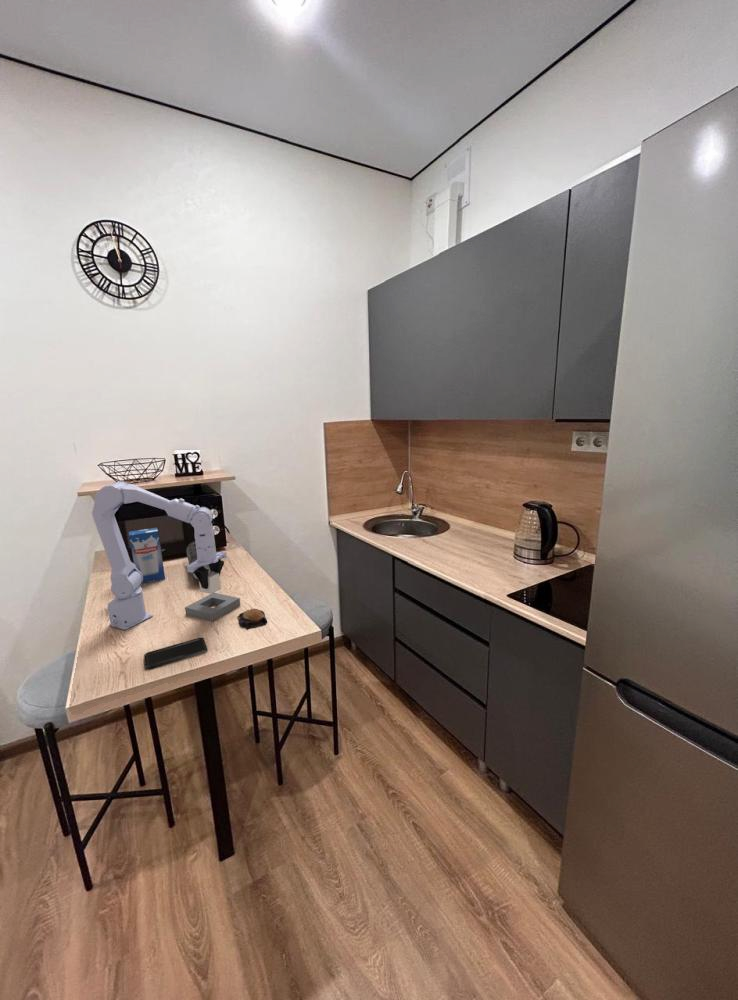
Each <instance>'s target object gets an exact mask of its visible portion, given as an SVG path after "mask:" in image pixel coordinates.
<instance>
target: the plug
mask: <svg viewBox="0 0 738 1000" xmlns="http://www.w3.org/2000/svg"><path fill="white" fill-rule="evenodd" d="M220 577H221V575H220V576H219V573H214V571H209V572H208V588H207V589H204V588H202V586H201V584H200V582H199V581H198V584H199V591H200V592H201V593H206V594H209V595H210V594H212V593H217V592H218V591H220V590H221V589H222V587H221V578H220Z"/></svg>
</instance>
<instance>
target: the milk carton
mask: <svg viewBox="0 0 738 1000" xmlns="http://www.w3.org/2000/svg"><path fill="white" fill-rule="evenodd" d="M128 538H129V543H130V548H131V553H132V561H133V563H134V564H135V565H136V568H137V569H138V570H139V571H140V572H141V573H142V575H143V581H142V583H141V584H140V585H143V584H148V583H151V582H157V581H162V580H165V579H166V574H165V569H164V561H163V556H162V549H161V543H160V540H161V539H160V535H159V530H158V527H152V528H144V529H139V530H132V531H128Z"/></svg>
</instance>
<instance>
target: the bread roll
mask: <svg viewBox="0 0 738 1000" xmlns="http://www.w3.org/2000/svg"><path fill="white" fill-rule="evenodd" d="M236 618H237V622H238V624H239V626H240V627H242V628H243V629H246V630H247V631H248V630H252V629H255V628H260V627H264V626H265V625H266V624H268V620H267V618H266V614H265V611H263V610H261V609H258V608H250V609H246V610H245V611H243V612H241V613H239V615H237V616H236Z"/></svg>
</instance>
